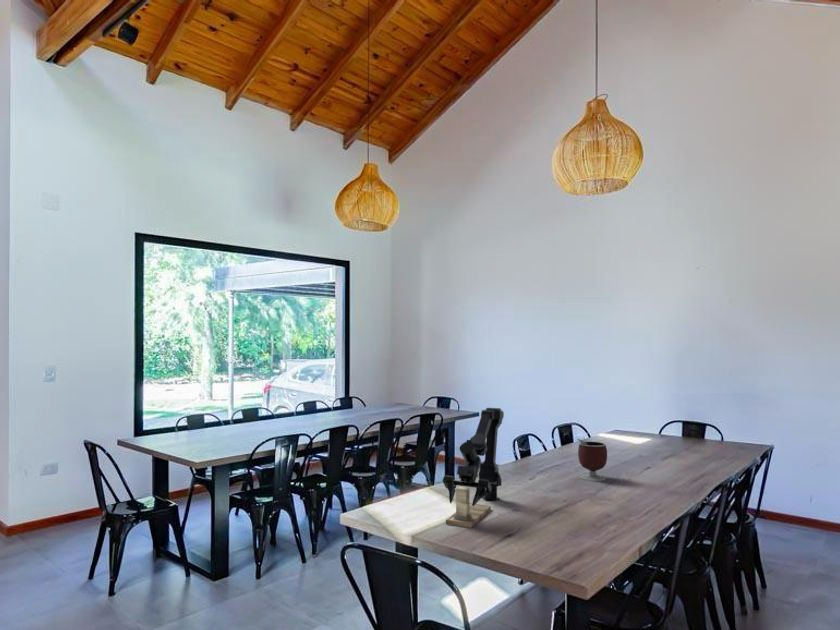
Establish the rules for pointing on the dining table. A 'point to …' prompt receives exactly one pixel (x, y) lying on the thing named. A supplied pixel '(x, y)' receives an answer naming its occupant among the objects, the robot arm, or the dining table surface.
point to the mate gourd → (592, 458)
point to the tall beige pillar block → (462, 503)
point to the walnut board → (476, 515)
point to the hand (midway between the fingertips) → (461, 504)
